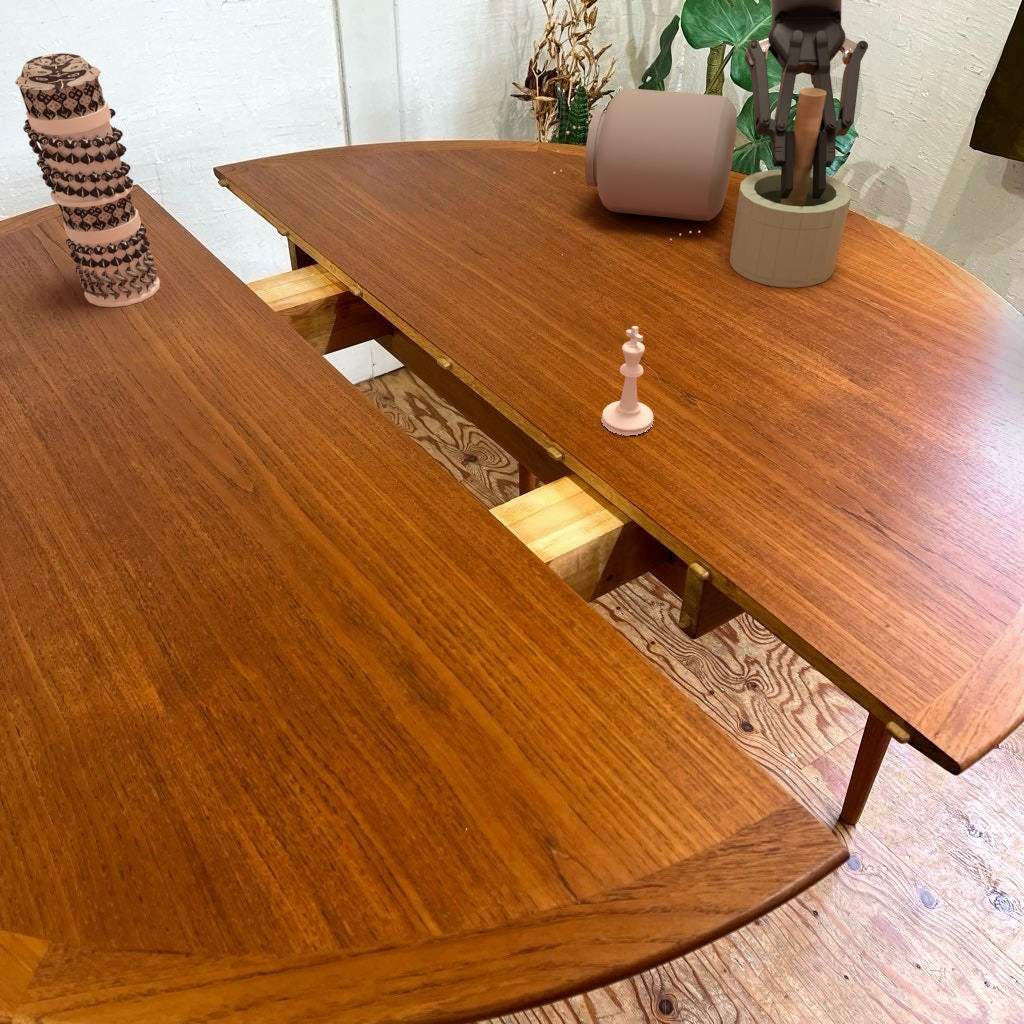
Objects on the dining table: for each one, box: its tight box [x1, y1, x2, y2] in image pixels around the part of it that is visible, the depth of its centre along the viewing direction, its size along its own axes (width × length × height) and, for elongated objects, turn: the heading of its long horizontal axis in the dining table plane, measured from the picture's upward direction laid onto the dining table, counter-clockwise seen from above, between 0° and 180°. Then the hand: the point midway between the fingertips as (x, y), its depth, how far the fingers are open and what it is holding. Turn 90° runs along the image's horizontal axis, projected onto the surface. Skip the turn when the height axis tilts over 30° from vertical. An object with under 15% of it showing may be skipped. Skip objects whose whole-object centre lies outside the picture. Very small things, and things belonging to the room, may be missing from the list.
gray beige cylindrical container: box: [729, 168, 852, 289], centre depth 111 cm, size 12×12×9 cm
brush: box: [780, 87, 827, 207], centre depth 109 cm, size 6×6×18 cm
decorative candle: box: [14, 52, 161, 308], centre depth 103 cm, size 9×9×25 cm
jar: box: [541, 88, 738, 242], centre depth 122 cm, size 19×15×25 cm
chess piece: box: [600, 325, 655, 437], centre depth 87 cm, size 5×5×10 cm
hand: (802, 193), depth 106 cm, fingers closed on brush, 3 cm apart
